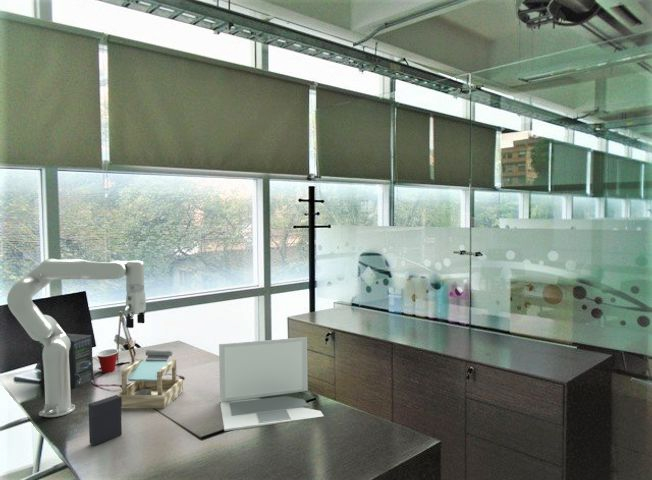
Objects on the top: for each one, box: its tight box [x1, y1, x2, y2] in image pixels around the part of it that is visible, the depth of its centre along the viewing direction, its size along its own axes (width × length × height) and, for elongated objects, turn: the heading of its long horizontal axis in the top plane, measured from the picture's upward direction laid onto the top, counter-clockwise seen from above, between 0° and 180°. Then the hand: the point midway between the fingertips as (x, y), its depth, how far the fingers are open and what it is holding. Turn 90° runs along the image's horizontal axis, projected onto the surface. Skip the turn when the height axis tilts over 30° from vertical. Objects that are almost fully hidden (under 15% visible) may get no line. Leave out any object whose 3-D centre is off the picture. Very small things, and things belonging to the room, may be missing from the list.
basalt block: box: [134, 389, 151, 395], centre depth 206 cm, size 5×5×6 cm
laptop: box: [218, 336, 325, 432], centre depth 199 cm, size 40×29×28 cm
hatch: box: [127, 349, 173, 382], centre depth 215 cm, size 19×14×4 cm
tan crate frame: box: [115, 358, 184, 409], centre depth 213 cm, size 22×22×16 cm
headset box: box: [39, 333, 94, 389], centre depth 235 cm, size 22×12×26 cm, turn 71°
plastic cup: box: [95, 348, 119, 374], centre depth 249 cm, size 11×11×12 cm
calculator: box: [87, 394, 123, 446], centre depth 175 cm, size 11×4×15 cm, turn 143°
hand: (135, 325), depth 212 cm, fingers open, 9 cm apart
